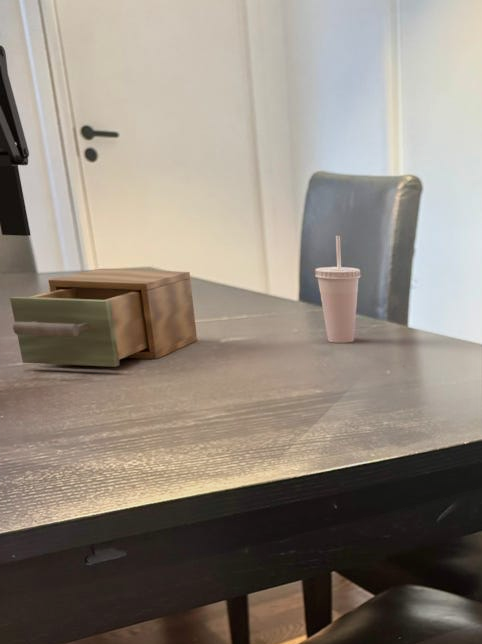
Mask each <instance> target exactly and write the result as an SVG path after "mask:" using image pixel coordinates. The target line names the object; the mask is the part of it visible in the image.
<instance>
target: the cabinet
mask: <svg viewBox="0 0 482 644" xmlns="http://www.w3.org/2000/svg"><path fill="white" fill-rule="evenodd" d="M47 281H48V286H49V292H52V291H56V290H60V289H65V288H69V287H76V288H102V289H128V290H141V292H142V300H143V307H144V314H145V321H146V329H147V336H148V343H149V347H148V348H146V349H143V350H141V351H139V352H136V353H134V354H132V355H129V356H127V357H124V358H123V359H126V358H127V359H128V358H129V359H146V360H148V359H149V360H157V359H159V358H162V357H164V356H166V355H168V354H171V353H172V352H175V351H178V350H179V349H182V348H184V347H186V346H189V345H190V344H192V343H195V342H197V341H198V334H197V326H196V318H195V317H196V316H195V309H194V300H193V292H192V290H193V289H192V284H191V283H192V282H191V273H190V271H178V270H177V271H176V270H175V271H172V270H171V271H170V270H146V269H124V268H123V269H121V268H98V269H94V270H88V271H84V272H79V273H75V274H68V275H64V276H60V277H55V278H50V279H48V280H47Z"/></svg>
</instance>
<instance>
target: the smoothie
mask: <svg viewBox="0 0 482 644" xmlns="http://www.w3.org/2000/svg"><path fill="white" fill-rule="evenodd" d="M335 248H336V266H326V267H325V266H324V267H317V268H315V270H314V271H315V275H314V276H315V277H316V278H317V282H318V288H319V289H318V290H319V293H320V300H321V305H322V311H323V318H324V323H325V324H324V325H325V330H326V335H327V342H330V343H335V344H336V343H337V344H346V343H347V344H348V343H352V342H354V341H355V330H356V319H357V318H356V317H357V304H358V293H359V292H358V291H359V280H360V278H361V277H362V275H361V269H360V268H356V267H347V266H346V267H345V266H342V254H341V253H342V252H341V236H340V235H335Z"/></svg>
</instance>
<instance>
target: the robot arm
mask: <svg viewBox="0 0 482 644" xmlns="http://www.w3.org/2000/svg"><path fill="white" fill-rule="evenodd" d="M7 61H8V60H7V54H6V50H5V48H4V46H3V45H0V230H1V235H2V236H20V237H21V236H22V237H23V236H24V237H29V236H31V235H32V234H31V229H30V224H29V219H28V213H27V207H26V202H25V197H24V191H23V186H22V180H21V176H20V170H19V166H28V164H29V157H30V151H29V148H28V142H27V140H26V135H25V132H24V128H23V124H22V121H21V117H20V114H19V110H18V106H17V103H16V99H15V95H14V91H13V88H12V84H11V81H10V80H11V79H10V77H9V72H8V71H9V70H8V63H7Z"/></svg>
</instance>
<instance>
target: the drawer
mask: <svg viewBox="0 0 482 644" xmlns="http://www.w3.org/2000/svg"><path fill="white" fill-rule="evenodd" d="M9 300H10V301H9V302H10V306H11V310H12V315H13V320H14V322H13V324H12V330H13V332H14V334H15V335H17V341H18V346H19V350H20V356H21V360H22V363H23V364H25V363H26V364H43V365H63V366H65V365H66V366H67V365H68V366H87V367H89V366H90V367H111V368H112V367H114V368H115V367H118V366H120V365H121V364H120V362H121V361H120V360H122V359H125V358H124V357H127V356H129V355H132V354H134V353H136V352H139V351H141V350H143V349H146V348H148V347H149V343H148V336H147V329H146V321H145V314H144V307H143V300H142V292H141V290H128V289H102V288H76V287H69V288H65V289H60V290H56V291H52V292H50V291H48V292H43V293H40V294H35V295H31V296H16V295H15V296H11V297H9Z"/></svg>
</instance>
